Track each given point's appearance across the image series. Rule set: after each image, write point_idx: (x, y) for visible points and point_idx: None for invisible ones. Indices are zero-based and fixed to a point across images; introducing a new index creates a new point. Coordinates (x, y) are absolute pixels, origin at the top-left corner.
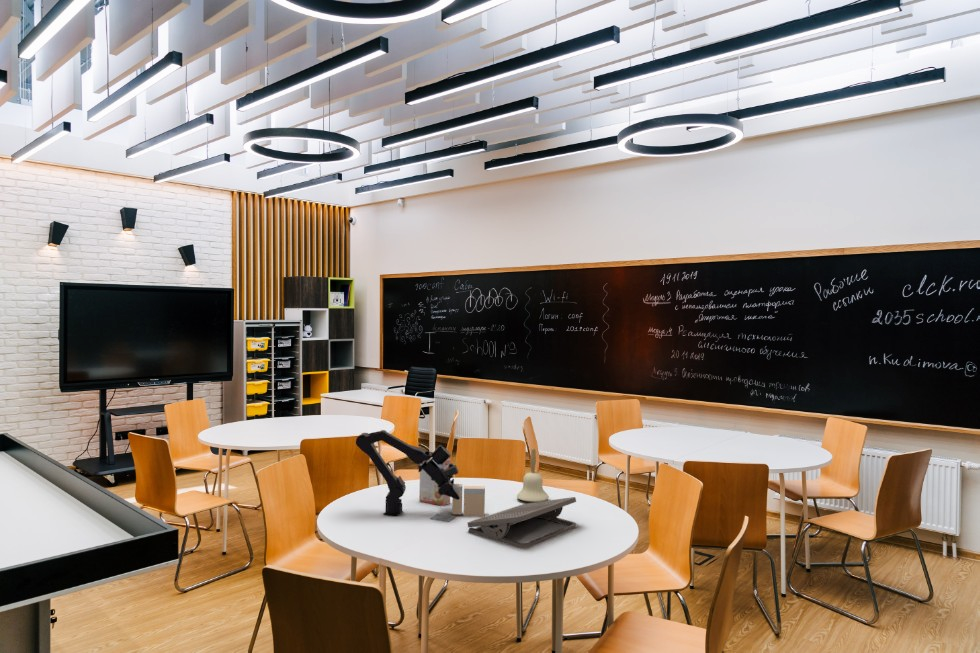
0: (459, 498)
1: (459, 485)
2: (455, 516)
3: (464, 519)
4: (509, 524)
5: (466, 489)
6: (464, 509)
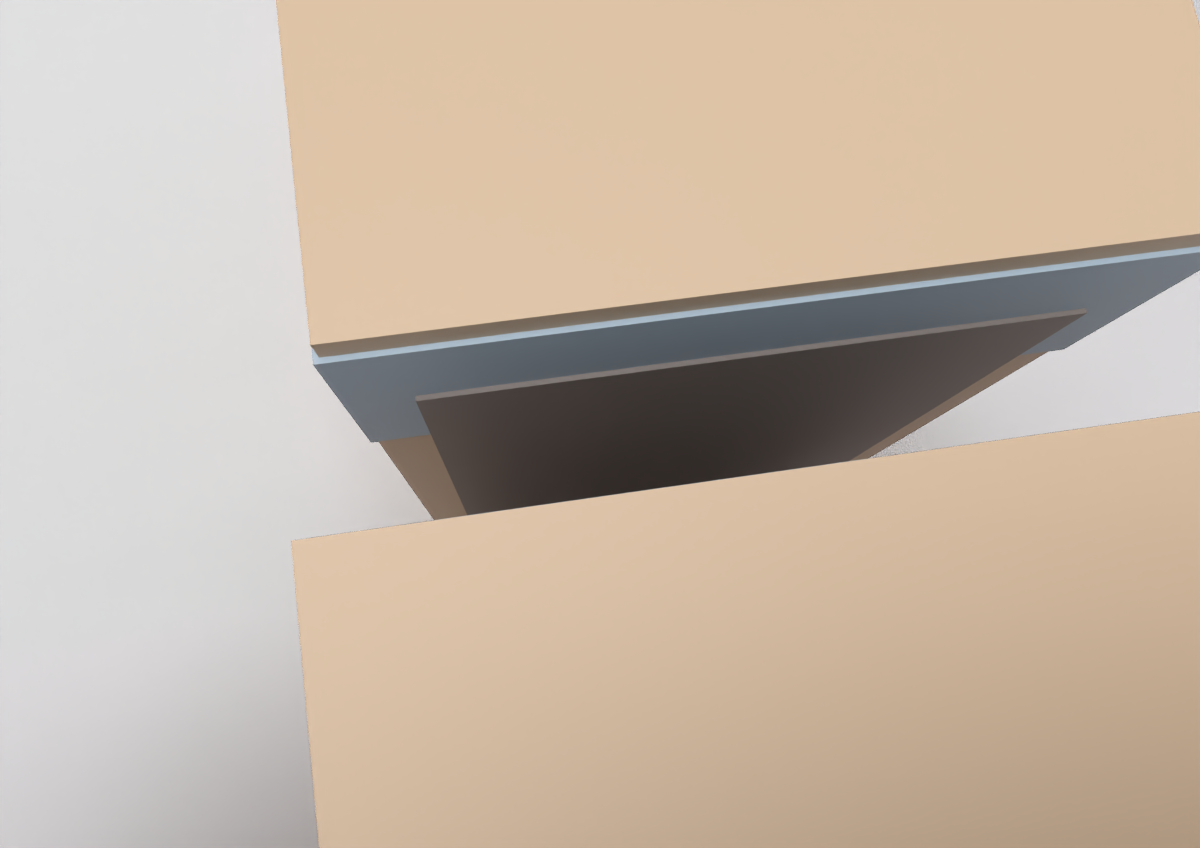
0: None
1: (1076, 762)
2: None
3: None
4: None
5: (1164, 74)
6: None
